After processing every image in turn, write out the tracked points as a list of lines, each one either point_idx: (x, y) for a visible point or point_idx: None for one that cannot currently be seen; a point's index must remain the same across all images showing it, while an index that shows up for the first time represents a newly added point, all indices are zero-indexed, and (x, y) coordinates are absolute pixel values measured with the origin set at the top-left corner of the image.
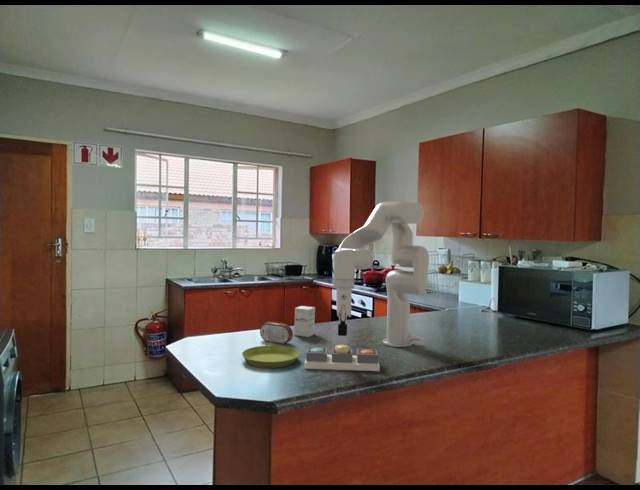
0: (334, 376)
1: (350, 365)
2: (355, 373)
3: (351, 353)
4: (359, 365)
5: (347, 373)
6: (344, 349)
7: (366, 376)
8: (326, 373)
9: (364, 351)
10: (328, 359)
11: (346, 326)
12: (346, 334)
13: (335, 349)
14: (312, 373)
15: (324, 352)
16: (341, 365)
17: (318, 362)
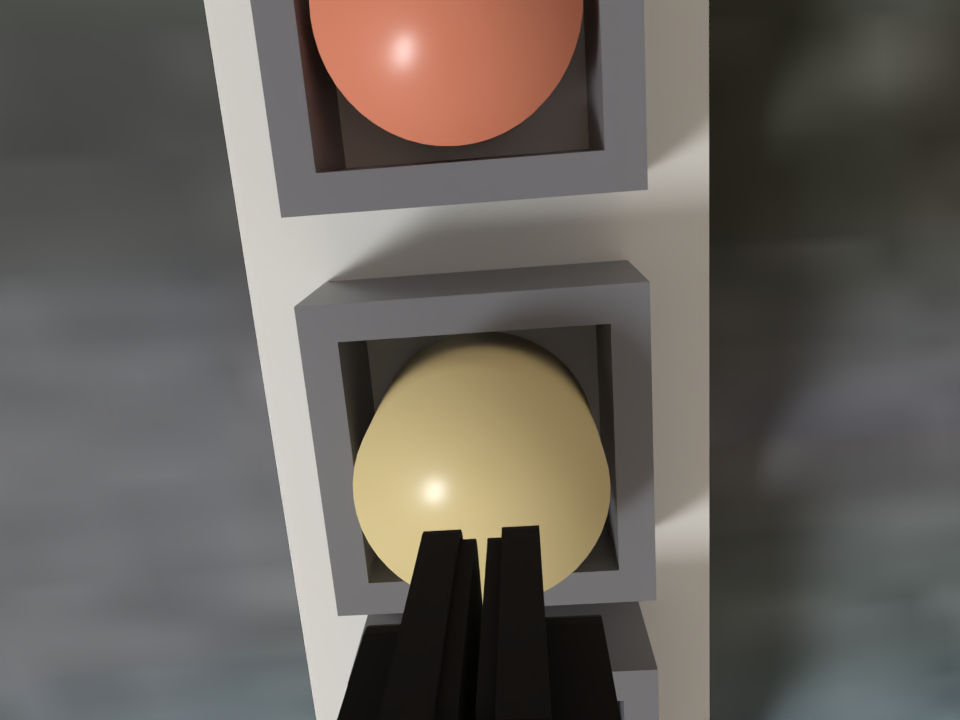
0: (949, 444)
1: (704, 278)
2: (818, 194)
3: (602, 300)
4: (708, 146)
5: (826, 298)
6: (597, 439)
7: (936, 36)
8: (844, 539)
9: (451, 62)
10: None
11: (549, 692)
12: (537, 541)
13: None
14: (854, 679)
15: None
16: (705, 399)
17: (675, 684)
